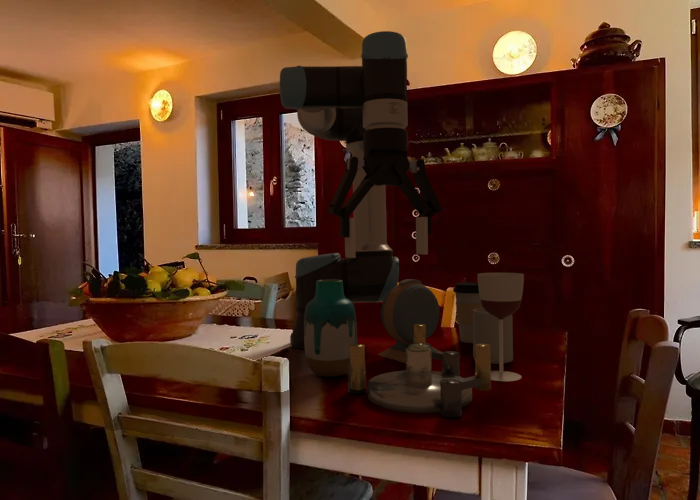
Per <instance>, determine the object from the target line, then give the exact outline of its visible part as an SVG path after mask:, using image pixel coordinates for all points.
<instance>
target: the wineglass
mask: <svg viewBox="0 0 700 500" xmlns="http://www.w3.org/2000/svg"><path fill="white" fill-rule="evenodd" d="M524 278H525V273H519V272H481V273H477V282H478V288H479V295H480V300H481V304H482V306H483V308H484V309H485V310H486V311H487V312H488V313H490V314H491V315H493V316H495V317H497V318H498V319H499V364H498V365H499V367H498V368H499V370H491V381H496V382H514V381H519V380H521V379H522V377H523V376H522V375H520V374H519V373H516V372H513V371H508V370H504V363H503V319H504V318H506V317H507V316H509V315H511V314H512V315H513V314H514V313H516V312H517V311H518V310H519V309H520V307H521V304H522V299H523V298H522V297H523V292H524V284H525V283H524V281H525V279H524Z"/></svg>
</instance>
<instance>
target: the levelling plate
mask: <svg viewBox="0 0 700 500" xmlns="http://www.w3.org/2000/svg"><path fill="white" fill-rule="evenodd" d="M432 367H433V366H432V358H431V349H430V348H429V346H428V345H424V344H412V345H409V346H408V348H407V349H406V363H405V370H397V371H391V372H385V373H382V374H378V375H375V376H374V377H372V378H370V379H369V380H368V382H367V383H366V390H367V399H368V400H369V401H370V402H371V403H372V404H374V405H376V406H378V407H380V408H383V409H387V410H389V411H390V410H391V411H396V412H401V413H409V414H412V413H413V414H436V413H437V414H439V413H441V395H440V381H441V380H443V379H456V380H459V379H463V378H464V377H462V376H457V375H453V374H449V373H444V372H443V371H436V370H432ZM472 401H473V387H472V388H468V389H464V390H462V408H464V407H466V406H468V405H469V404H470V403H471V402H472Z"/></svg>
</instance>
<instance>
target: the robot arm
mask: <svg viewBox="0 0 700 500" xmlns="http://www.w3.org/2000/svg"><path fill="white" fill-rule="evenodd" d="M407 47H408V46H407V39H406V37H405V36H404V35H403V34H401V33H399V32H396V31H391V30H390V31H389V30H388V31H387V30H386V31H385V30H384V31H383V30H382V31H381V30H380V31H376V32H375V31H374V32H373V33H370V34H367V35H366V36H364V38H363V40H362V43H361V56H360V58H361V65H351V66H349V65H348V66H347V65H345V66H344V65H340V66H339V65H338V66H337V65H336V66H330V65H329V66H328V65H327V66H321V65H320V66H307V65H306V66H302V65H296V66H287V67H283V68H282V69H281V70H280V71H279V94H280V102H281V105H282V107H283V108H284V109H286V110H287V109H289V110H296V112H297V115H296V116H297V120H298V122H299V125H300V126H301V128H302V129H303V130H304V131H305V132H307V133H308V134H310V135H311V136H314V137H316V138H320V139H322V140H326V141H334V142H345V146H346V147H345V148H346V149H347V151H348V152H350V153H351V157H349V158H346V160H345V167H344V168H345V169H344V173H343V175H342V177H341V179H340V182H339V185H338V186H337V189H336V191H335V193H334V195H333V198H332V200H331V202H330V204H329V207H328V208H327V209H328V210H327V212H328V213H329V214H330V215H334V216H336V217H337V218H338V219H339V236H340V238H344V254H345V255H344V256H345V257H343V258H341V253H339V252H334V253H333V252H331V253H324V254H320V255H319V254H318V255H312V256H311V255H310V256H306V257H302V258H300V259H298V260H297V261H296V264H295V275H294V279H295V302H296V303H295V305H296V308H295V309H296V310H295V311H296V312H295V313H296V314H295V315H296V316H295V319H294V322H293V328H292V332H291V334H290V336H289V338H290V339H289V341H290V342H289V345H290V344H291V345H292V346H293V348H296V349H299V350H300V349H301V350H305V344H304V316H305V308H306V305H307V304H308V302H310V301H311V300H313V299H314V297H315V294H316V281H318V280H329V279H335V280H342V281H343V290H344V295H345V297H346V298H347V299H348V300H350V301H351V302H352V303H353V304H354V303H355V304H356V303H357V304H358V303H376V304H377V303H383V300H384V299H385V297H386V295H387V294H388V293H389V292H390V290H391V289H392V288H394V287H395V286H397V285H399V277H400V259H399V257H397V256H394V255H393V254H394V251H393V249H392V248H391V246H389V244H388V243H387V242H388V241H387V237H388V236H387V203H386V202H387V198H386V192H387V191H386V186H389V187H393V186H396V187H397V188H398V189H399V190H401V192H402V193H403V194H404V196H405V197H406V198H407V200H408V201H409V202H410V204H411V205H412V206H413V208H414V209H415V211H417V213H418V214H419V216H416V217H415V234H416V235H415V236H416V237H415V247H416V248H415V251H416V252H415V253H416V255H423V256H424V255H429V246H428V245H429V240H428V239H429V238H428V237H429V236H430V235H432V217H434V216H435V215H436V214H438V213H441V212H442V206H441V204H440V202H439V199H438V196H437V195H436V192H435V189H434V188H433V185H432V182H431V181H430V178H429V176H428V175H427V172H426V164H425V160H424V159H422V158H419V159H415V160H409V157H408V152H409V132H408V131H407V129H406V128H407V127H408V124H409V122H408V119H409V118H408V115H409V114H408V58H409V55H408V51H407V50H408V48H407ZM408 170H409V172H411V173H412V175H413V178H414V181H415V184H416V185H417V187H418V188H416V187H415V186H414V184H413V181H412V180H411V178H410V177H409V175H408V174H407V172H408ZM351 187H352V194H351V195H350V197H349V198H348V199H347V196H348V195H349V194H348V193H349V191H350V190H351ZM418 190H419V191H418ZM419 192H420V193H419ZM346 199H347V201H346ZM352 214H353V217H351V216H352ZM291 345H290V346H291ZM292 346H291V347H292Z"/></svg>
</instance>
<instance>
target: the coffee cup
mask: <svg viewBox="0 0 700 500" xmlns="http://www.w3.org/2000/svg"><path fill="white" fill-rule="evenodd" d="M452 292H454V295H455V296H454V297H455V308H456V317H457V318H456V319H457V324H458V329H459V338H460V342H461V343H465V344H473V310H474V309H476V308H483V306H482V304H481V300H480V295H479V288H478V281H475V282H474V281H473V282H472V281H465V282H463V281H462V282H456V283H455V286H454V287H453V288H452Z"/></svg>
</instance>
